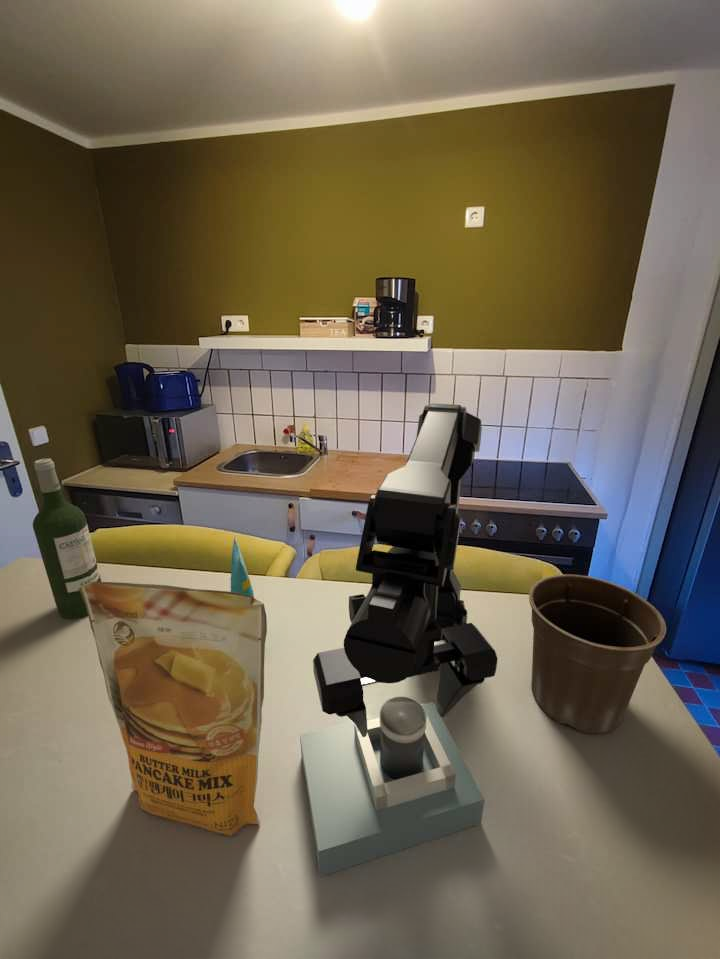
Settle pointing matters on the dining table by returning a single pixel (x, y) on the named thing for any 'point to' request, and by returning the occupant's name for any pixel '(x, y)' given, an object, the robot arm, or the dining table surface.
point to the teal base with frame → (383, 794)
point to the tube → (239, 573)
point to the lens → (402, 737)
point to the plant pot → (589, 649)
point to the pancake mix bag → (185, 696)
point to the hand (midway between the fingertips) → (402, 723)
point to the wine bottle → (63, 544)
